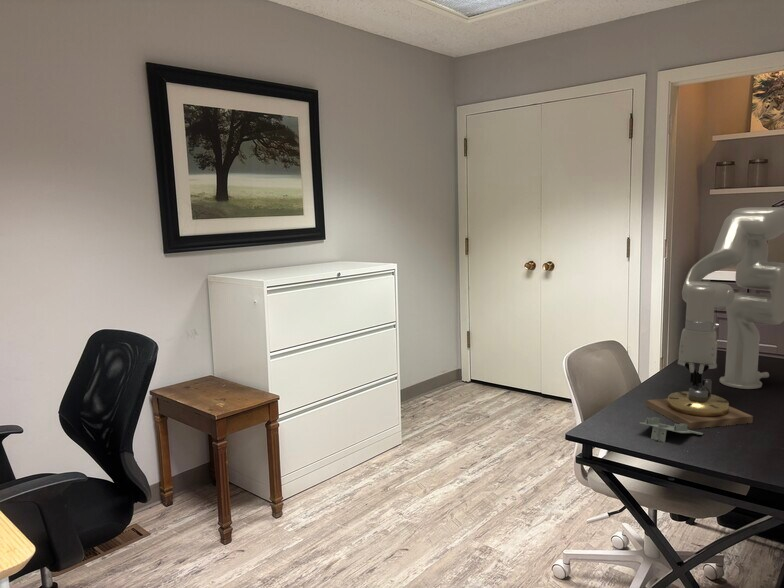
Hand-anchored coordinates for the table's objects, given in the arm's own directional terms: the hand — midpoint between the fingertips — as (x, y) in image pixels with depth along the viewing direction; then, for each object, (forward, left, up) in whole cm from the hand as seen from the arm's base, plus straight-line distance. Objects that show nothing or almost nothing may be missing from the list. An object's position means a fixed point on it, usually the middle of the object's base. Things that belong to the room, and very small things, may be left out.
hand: (695, 384), depth 183 cm
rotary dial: (+4, +6, -5) cm, 8 cm away
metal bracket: (+21, +17, -8) cm, 28 cm away
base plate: (+4, +6, -7) cm, 10 cm away
